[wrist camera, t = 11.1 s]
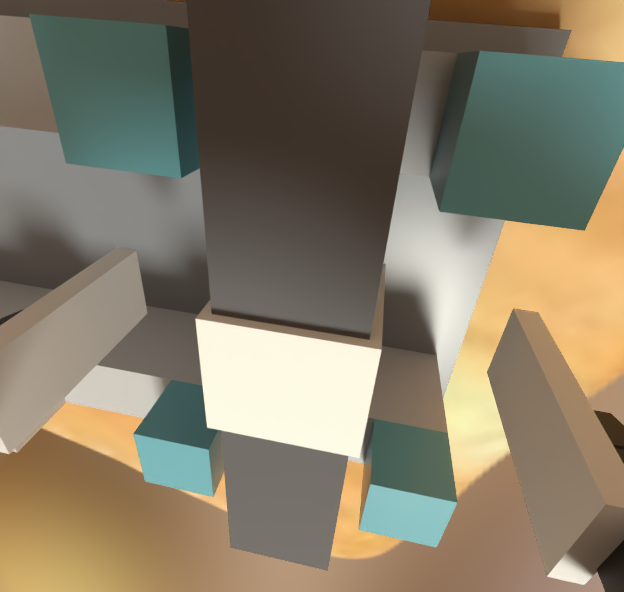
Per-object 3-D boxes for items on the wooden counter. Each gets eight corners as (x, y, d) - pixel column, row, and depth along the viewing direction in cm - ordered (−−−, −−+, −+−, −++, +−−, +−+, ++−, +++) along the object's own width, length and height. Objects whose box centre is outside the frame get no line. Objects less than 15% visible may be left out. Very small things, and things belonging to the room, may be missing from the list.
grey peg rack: (-204, -25, 17) (-670, -92, 10) (560, 31, 14) (767, -4, 6) (-42, 311, 27) (-215, 411, 19) (436, 399, 23) (456, 566, 15)
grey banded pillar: (248, -35, 10) (149, -98, 6) (438, -25, 9) (470, -88, 5) (255, 456, 20) (220, 553, 16) (346, 475, 19) (333, 580, 15)
